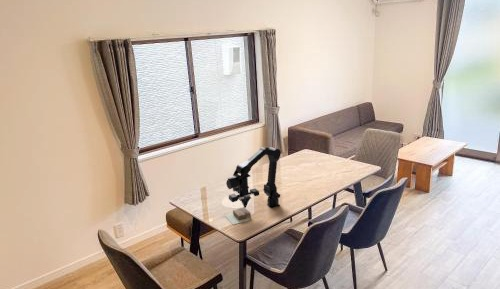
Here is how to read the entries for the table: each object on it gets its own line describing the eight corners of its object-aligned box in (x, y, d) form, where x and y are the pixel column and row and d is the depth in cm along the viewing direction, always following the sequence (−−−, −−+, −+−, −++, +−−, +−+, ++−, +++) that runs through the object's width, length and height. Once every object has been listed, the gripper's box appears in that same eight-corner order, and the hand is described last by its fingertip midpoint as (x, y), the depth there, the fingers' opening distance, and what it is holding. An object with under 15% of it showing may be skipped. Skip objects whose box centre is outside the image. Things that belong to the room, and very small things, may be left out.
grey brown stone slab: (244, 207, 233) (232, 210, 230) (250, 212, 225) (238, 216, 222) (244, 211, 234) (233, 214, 231) (250, 217, 226) (239, 220, 223)
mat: (241, 210, 236) (241, 210, 235) (251, 219, 223) (250, 219, 223) (224, 215, 231) (224, 215, 231) (233, 225, 219) (233, 224, 219)
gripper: (251, 177, 234) (252, 199, 238) (224, 183, 226) (226, 206, 231) (259, 182, 224) (260, 205, 229) (231, 189, 217) (233, 213, 221)
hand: (244, 207), depth 228 cm, fingers closed
